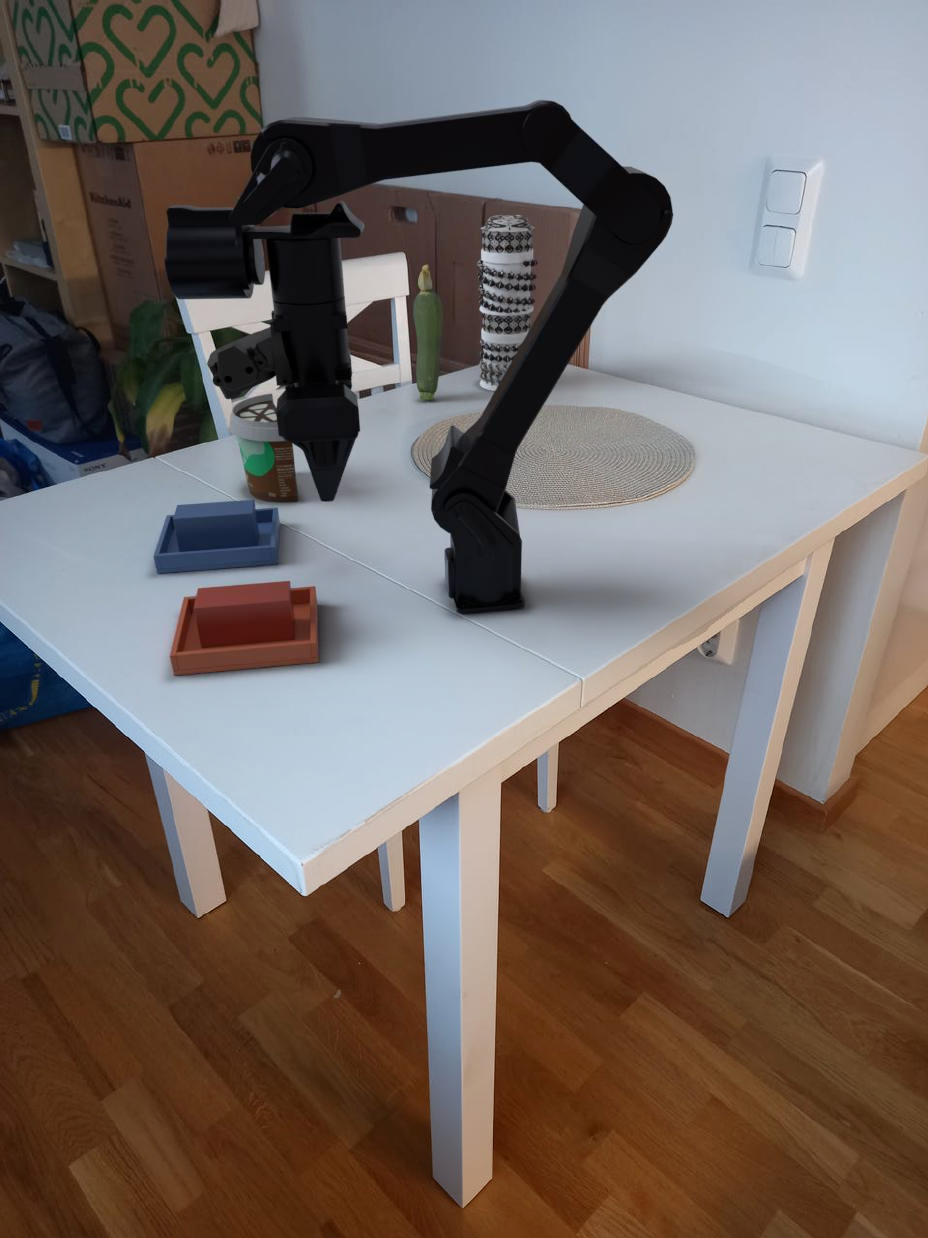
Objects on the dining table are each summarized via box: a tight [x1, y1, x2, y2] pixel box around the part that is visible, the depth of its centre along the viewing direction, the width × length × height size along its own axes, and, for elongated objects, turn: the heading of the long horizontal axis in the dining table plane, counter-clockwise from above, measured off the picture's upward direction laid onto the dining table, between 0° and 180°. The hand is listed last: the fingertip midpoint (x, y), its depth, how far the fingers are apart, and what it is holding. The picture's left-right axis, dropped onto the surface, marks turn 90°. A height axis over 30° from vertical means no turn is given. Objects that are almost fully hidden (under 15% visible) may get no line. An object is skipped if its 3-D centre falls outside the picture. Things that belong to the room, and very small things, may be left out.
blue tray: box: [153, 507, 281, 574], centre depth 95 cm, size 12×10×2 cm
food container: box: [228, 392, 299, 503], centre depth 106 cm, size 12×6×10 cm, turn 21°
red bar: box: [194, 580, 295, 648], centre depth 78 cm, size 8×4×4 cm, turn 99°
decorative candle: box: [476, 214, 539, 392], centre depth 139 cm, size 9×9×25 cm
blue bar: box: [173, 499, 259, 552], centre depth 94 cm, size 8×4×4 cm, turn 99°
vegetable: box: [412, 264, 444, 402], centre depth 133 cm, size 4×4×20 cm
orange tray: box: [169, 585, 320, 676], centre depth 79 cm, size 12×10×2 cm
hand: (326, 480), depth 79 cm, fingers open, 9 cm apart
